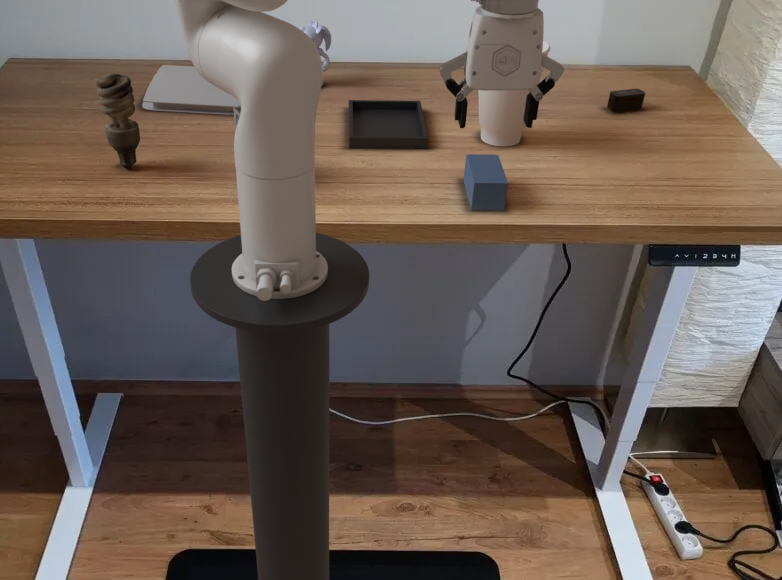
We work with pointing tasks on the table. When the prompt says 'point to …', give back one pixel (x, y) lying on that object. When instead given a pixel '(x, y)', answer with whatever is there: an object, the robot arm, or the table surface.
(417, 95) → the table surface
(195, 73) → the book
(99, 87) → the light bulb
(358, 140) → the black tray
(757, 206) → the table surface
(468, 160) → the rectangular block
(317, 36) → the toy figurine
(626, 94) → the wireless earbuds
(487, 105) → the cup
